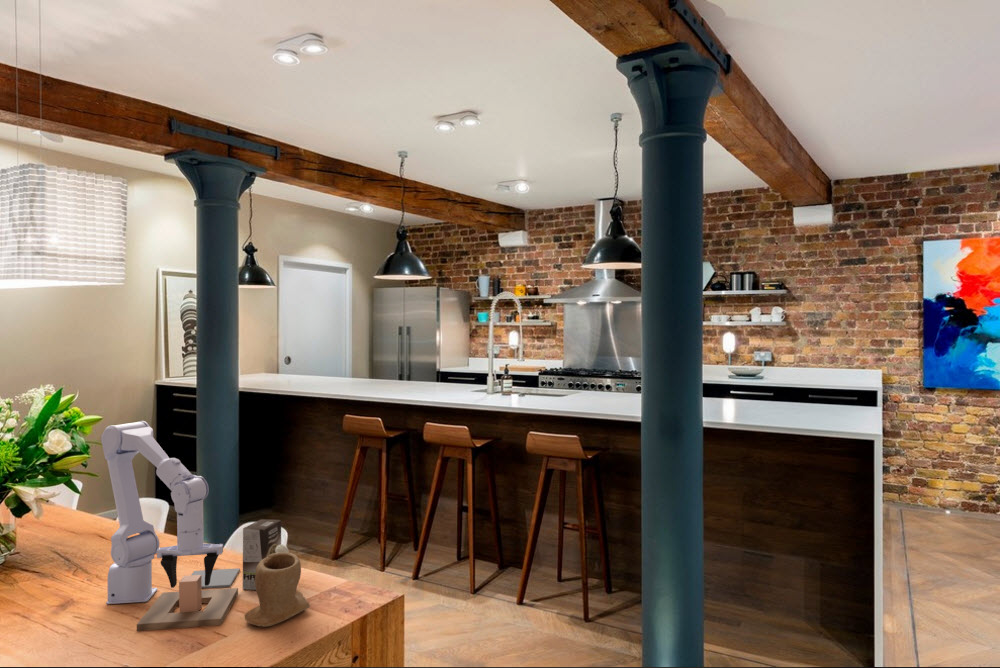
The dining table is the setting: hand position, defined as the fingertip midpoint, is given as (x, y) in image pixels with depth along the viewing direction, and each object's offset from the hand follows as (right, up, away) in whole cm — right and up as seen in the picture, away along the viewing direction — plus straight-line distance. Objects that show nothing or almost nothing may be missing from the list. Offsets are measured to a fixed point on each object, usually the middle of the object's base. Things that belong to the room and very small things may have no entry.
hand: (190, 585), depth 161 cm
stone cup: (+23, -7, -3) cm, 24 cm away
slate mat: (-4, -6, +20) cm, 21 cm away
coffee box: (+11, -6, +17) cm, 22 cm away
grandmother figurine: (+18, -7, +10) cm, 22 cm away
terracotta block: (0, -6, 0) cm, 6 cm away
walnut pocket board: (0, -6, 0) cm, 6 cm away
